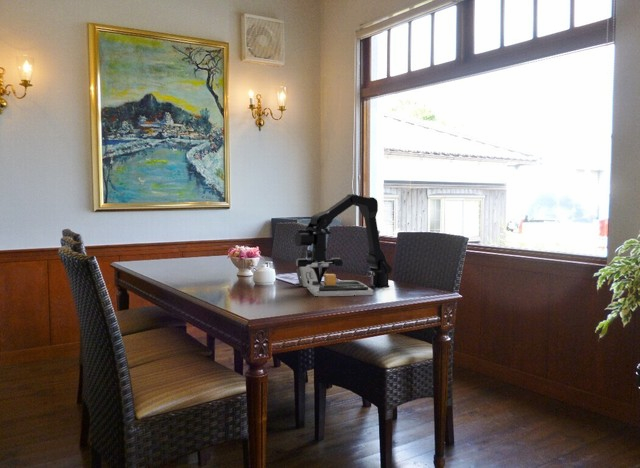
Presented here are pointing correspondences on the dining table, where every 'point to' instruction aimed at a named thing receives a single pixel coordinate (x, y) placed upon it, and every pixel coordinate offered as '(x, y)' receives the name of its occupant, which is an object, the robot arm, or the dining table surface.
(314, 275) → the electrical switch
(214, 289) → the dining table surface
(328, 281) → the orange cube block
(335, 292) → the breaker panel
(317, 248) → the robot arm
